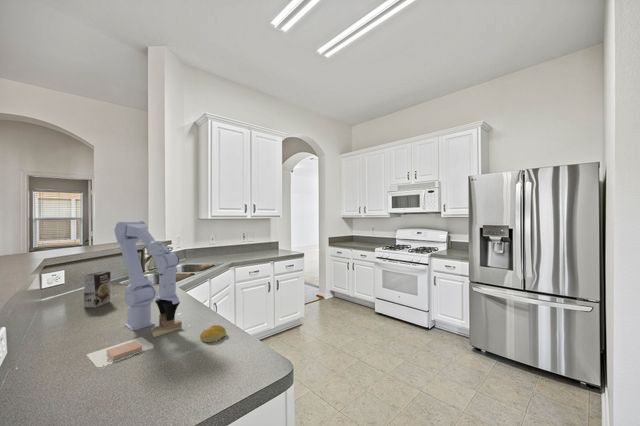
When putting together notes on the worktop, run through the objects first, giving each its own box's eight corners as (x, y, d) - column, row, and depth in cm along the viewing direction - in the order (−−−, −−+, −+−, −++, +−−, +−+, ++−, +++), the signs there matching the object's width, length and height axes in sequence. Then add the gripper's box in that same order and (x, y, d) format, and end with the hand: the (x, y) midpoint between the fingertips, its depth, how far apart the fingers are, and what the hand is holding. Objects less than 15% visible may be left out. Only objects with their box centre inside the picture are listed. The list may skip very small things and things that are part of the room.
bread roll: (195, 341, 98) (195, 330, 98) (213, 331, 106) (213, 321, 106) (212, 345, 94) (213, 334, 94) (230, 335, 103) (230, 324, 103)
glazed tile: (106, 350, 87) (113, 356, 83) (134, 340, 94) (142, 346, 90) (106, 354, 87) (113, 361, 83) (134, 345, 94) (142, 350, 90)
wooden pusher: (150, 335, 102) (150, 317, 102) (177, 326, 110) (177, 309, 110) (155, 338, 100) (155, 319, 100) (182, 329, 108) (182, 311, 108)
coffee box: (96, 307, 132) (96, 275, 132) (83, 307, 132) (83, 275, 132) (110, 301, 141) (111, 271, 141) (98, 301, 141) (99, 271, 141)
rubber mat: (86, 355, 87) (86, 354, 87) (141, 337, 100) (141, 336, 100) (97, 368, 79) (97, 368, 79) (156, 347, 92) (156, 347, 92)
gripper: (148, 283, 106) (148, 317, 106) (165, 289, 98) (164, 326, 97) (167, 279, 112) (167, 312, 112) (184, 285, 103) (184, 320, 103)
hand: (167, 318), depth 105 cm, fingers open, 5 cm apart
